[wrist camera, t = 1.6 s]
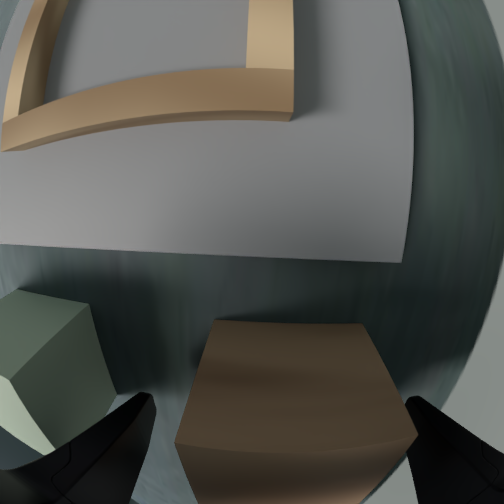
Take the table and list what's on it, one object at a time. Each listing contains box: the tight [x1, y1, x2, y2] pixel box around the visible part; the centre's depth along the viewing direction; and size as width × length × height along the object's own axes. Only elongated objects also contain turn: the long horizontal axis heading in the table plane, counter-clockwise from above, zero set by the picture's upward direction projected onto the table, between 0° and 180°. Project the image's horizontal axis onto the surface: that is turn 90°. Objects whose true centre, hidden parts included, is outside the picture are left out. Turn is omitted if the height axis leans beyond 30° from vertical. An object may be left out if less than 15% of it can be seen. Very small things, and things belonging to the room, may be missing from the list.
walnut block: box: [174, 319, 418, 504], centre depth 7 cm, size 5×5×5 cm
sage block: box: [0, 289, 117, 455], centre depth 8 cm, size 5×5×5 cm
